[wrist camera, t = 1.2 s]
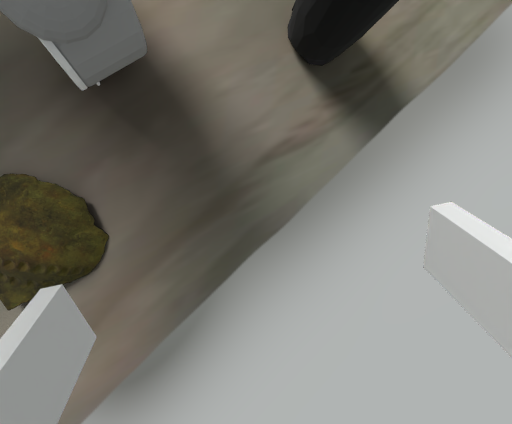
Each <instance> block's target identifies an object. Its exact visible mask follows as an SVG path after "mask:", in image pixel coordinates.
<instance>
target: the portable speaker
mask: <svg viewBox="0 0 512 424" xmlns="http://www.w3.org/2000/svg"><path fill="white" fill-rule="evenodd" d="M398 1H399V0H296V1H295V4H294V6H293V9H292V11H293V12H292V16H291V19H290V21H289V24H288V38H289V39H290V41H291V43H292V45H293V46H294V48H295V50H296V51H297V52H298V53H299V54H300V55H301V56H302V57H303V58H304V59H305V60H306V61H307V62H308V63H309V64H313V65H324V64H326V63H327V62H329V61H331V60H333V59H334V58H335V57H337V56H339V55H340V54H341V53H342V52H344V51H345V50H346V49H347V48H349V47H350V46H351V45H352V44H354V43H355V42H356V41H357V40H359V39H360V38H361V37H362V36H363V35H364V34H365V33H366V32H367V31H368V30H369V29H370V28H371V27H372V26H373V25H374V24H375V23H376V22H377V21H378V20H379V19H380V18H381V17H382V16H384V15H385V14H386V13H387V12H388V11H389V10H390V9H391V8H392V7H393V6H394V5H395V4H396V3H397V2H398Z"/></svg>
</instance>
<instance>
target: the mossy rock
mask: <svg viewBox="0 0 512 424" xmlns="http://www.w3.org/2000/svg"><path fill="white" fill-rule="evenodd" d="M94 221H95V220H94V217H93V216H92V215H91V214H90V213H89V211H88V209H87V205H86V202H85V199H83V198H82V197H77V196H74V195H73V194H71V192H70V191H68V190H66V189H64V188H63V187H60V186H58V185H57V184H52V183H49V182H41V181H39V180H37V179H36V177H34V176H28V175H26V174H20V175H18V174H16V175H15V174H4V175H3V176H1V177H0V300H1V301H2V302H3V304H4V306H5V307H6V308H7V310H11V309H13V308H15V307H17V306H18V305H20V304H22V303H25V302H28V301H29V300H31V299H33V298H34V296H35V295H36V294H37V293H38V291H39V290H40V289H42V288H47V287H51V286H56V285H61V284H64V283H68V282H69V283H70V282H72V281H73V280H76V279H78V278H80V277H82V276H85V275H87V274H89V273H90V272H91V271H92V270H93V269H94V268H95V267H96V265H97V264H98V263H99V262H100V260H101V257H102V254H103V253H104V248H105V243H106V241H107V240H108V237H109V236H108V235H107V234H106V233H104V232H103V230H102V229H99V228H98V227H96V226H95V225H93V224H94Z"/></svg>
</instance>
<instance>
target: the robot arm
mask: <svg viewBox="0 0 512 424" xmlns="http://www.w3.org/2000/svg"><path fill="white" fill-rule="evenodd" d="M423 268H424V269H425V270H426V271H427V272H428V273H429V274H430V275H431V276H432V277H433V278H434V279H435V280H436V281H437V282H438V283H439V284H440V285H441V286H442V287H443V288H444V289H445V290H446V291H447V292H448V293H449V294H450V295H451V296H452V297H453V298H454V299H455V301H456V302H457V303H458V304H459V305H460V306H461V307H462V308H463V309H464V310H465V311H466V312H467V313H468V314H469V315H470V316H471V317H472V318H473V319H474V320H475V321H476V322H477V323H478V324H479V325H480V326H481V327H482V328H483V329H484V330H485V331H486V332H487V333H488V334H489V335H490V336H491V337H492V338H493V339H494V341H495V342H496V343H497V344H499V346H500V347H502V349H503V350H504V351H505V352H506V353H507V354H508V355H509V356H510V357H511V358H512V239H511V238H510V237H508V236H506V235H505V234H503V233H501V232H500V231H498V230H497V229H495V228H493V227H492V226H490V225H488V224H487V223H485V222H484V221H482V220H480V219H479V218H477V217H475V216H474V215H472V214H470V213H469V212H467V211H466V210H464V209H462V208H461V207H459V206H457V205H456V204H454V203H453V202H448V203H443V204H438V205H434V206H430V212H429V220H428V229H427V237H426V247H425V255H424V265H423ZM95 340H96V335H95V334H94V332H93V330H92V329H91V327H90V326H89V324H88V323H87V321H86V320H85V318H84V317H83V315H82V314H81V312H80V311H79V309H78V308H77V306H76V305H75V303H74V301H73V300H72V298H71V297H70V295H69V294H68V292H67V291H66V289H65V288H64V286H63V285H62V284H61V285H56V286H51V287H47V288H42V289H40V290H39V291H38V293H37V294H36V295H35V296H34V298H33V299H32V300H31V301H30V303H29V304H28V305H27V306H26V308H25V309H24V310H23V311H22V313H21V314H20V315H19V316H18V318H17V319H16V320H15V321H14V323H13V324H12V325H11V326H10V328H9V329H8V330H7V331H6V333H5V334H4V335H3V336H2V338H1V339H0V424H57V423H58V421H59V419H60V416H61V414H62V412H63V410H64V408H65V406H66V403H67V401H68V399H69V397H70V395H71V392H72V390H73V388H74V386H75V384H76V381H77V379H78V377H79V375H80V373H81V370H82V368H83V366H84V364H85V362H86V359H87V357H88V355H89V353H90V351H91V348H92V346H93V344H94V342H95Z"/></svg>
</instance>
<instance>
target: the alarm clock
mask: <svg viewBox="0 0 512 424" xmlns="http://www.w3.org/2000/svg"><path fill="white" fill-rule="evenodd" d="M0 11H1V12H2V13H3V14H4V15H5V16H7V17H8V18H9V19H10V20H11V21H12V22H13V23H14V24H15V25H16V26H17V27H19V28H21V29H23V30H25V31H26V32H28V33H30V34H32V35H34V36H36V37H38V39H39V40H40V41H41V42H42V44H43V45H44V46H45V47H46V48H47V50H48V51H49V52H50V53H51V55H52V56H53V57H54V58H55V60H56V61H57V62H58V63H59V65H60V66H61V67H62V68H63V69H64V71H65V72H66V73H67V74H68V75H69V77H70V78H71V79H72V80H73V81H74V83H75V84H76V85H77V86H78V87H79V88H80V89H81V90H85V89H87V86H88V87H91V86H92V85H94V84H97V85H98V86H99V85H100V82H99V81H101V80H103V79H104V78H106V77H108V76H110V75H111V74H113V73H115V72H117V71H118V70H120V69H122V68H124V67H125V66H127V65H129V64H131V63H132V62H134V61H136V60H138V59H139V58H141V57H143V56H144V55H145V54H146V53H147V44H146V40H145V37H144V34H143V30H142V27H141V24H140V22H139V19H138V17H137V14H136V12H135V9H134V7H133V5H132V2H131V0H0Z"/></svg>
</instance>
